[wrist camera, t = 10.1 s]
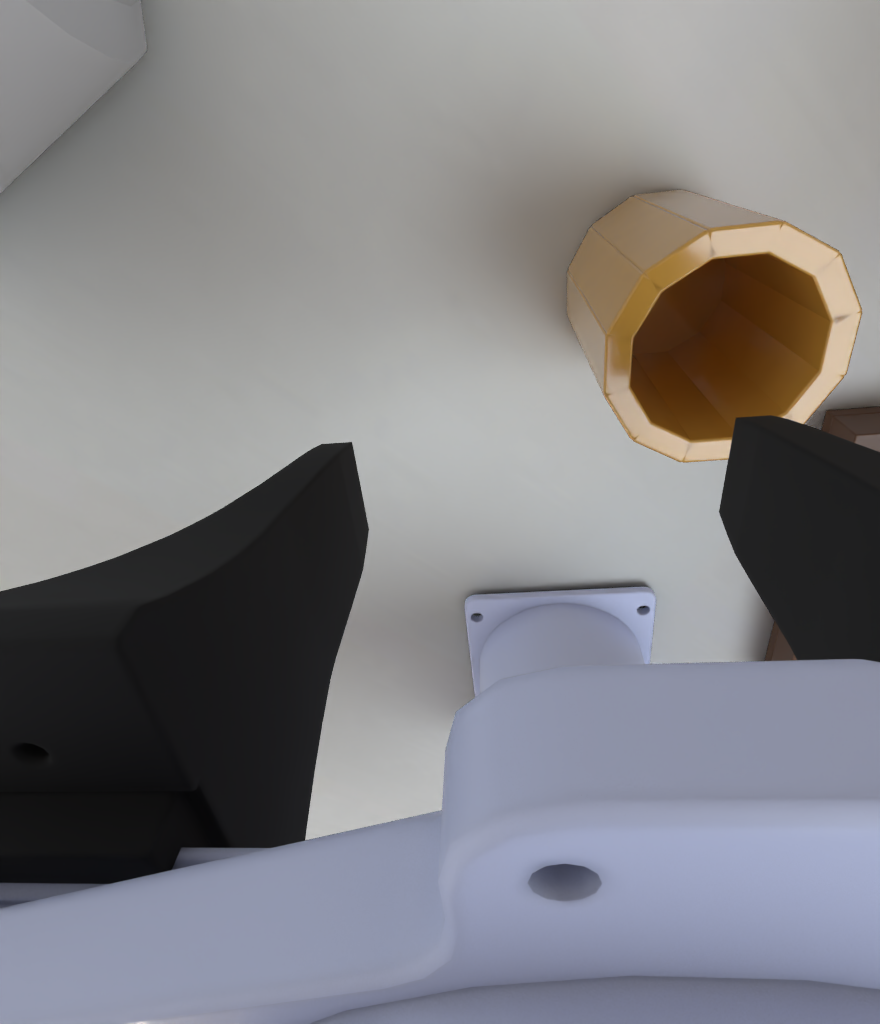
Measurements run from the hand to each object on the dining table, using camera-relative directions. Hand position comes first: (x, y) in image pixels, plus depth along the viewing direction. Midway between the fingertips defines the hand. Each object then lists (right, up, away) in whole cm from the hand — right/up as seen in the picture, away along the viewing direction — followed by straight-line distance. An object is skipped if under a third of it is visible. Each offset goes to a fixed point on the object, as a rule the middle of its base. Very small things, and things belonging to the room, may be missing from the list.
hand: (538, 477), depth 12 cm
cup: (+5, +6, +7) cm, 11 cm away
